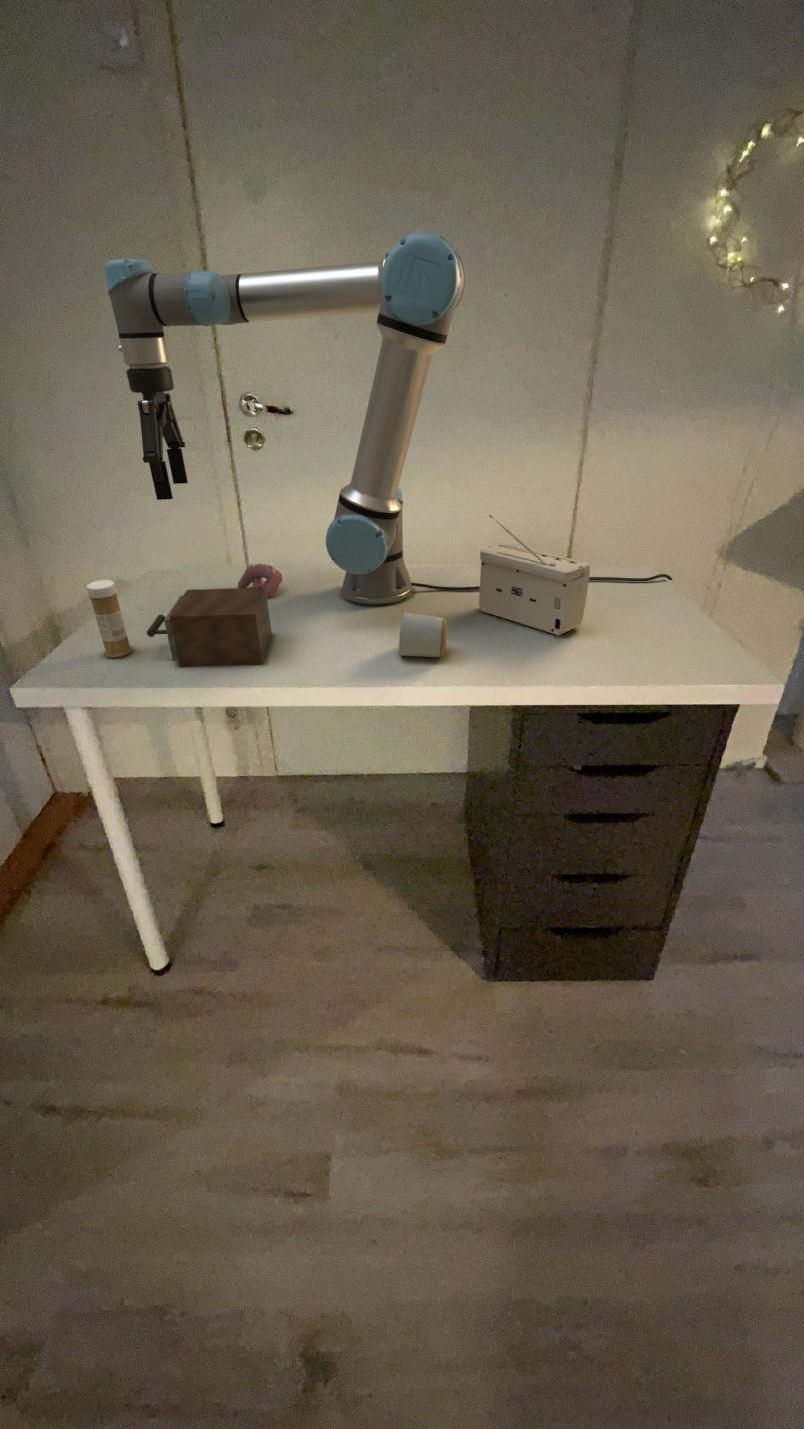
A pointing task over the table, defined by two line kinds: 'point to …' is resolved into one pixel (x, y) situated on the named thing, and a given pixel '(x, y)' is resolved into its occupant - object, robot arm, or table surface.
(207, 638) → the cabinet
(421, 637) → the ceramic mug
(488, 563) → the radio
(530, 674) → the table surface
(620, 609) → the table surface
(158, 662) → the table surface
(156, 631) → the drawer
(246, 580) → the pink curved ring
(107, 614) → the sprinkles bottle
